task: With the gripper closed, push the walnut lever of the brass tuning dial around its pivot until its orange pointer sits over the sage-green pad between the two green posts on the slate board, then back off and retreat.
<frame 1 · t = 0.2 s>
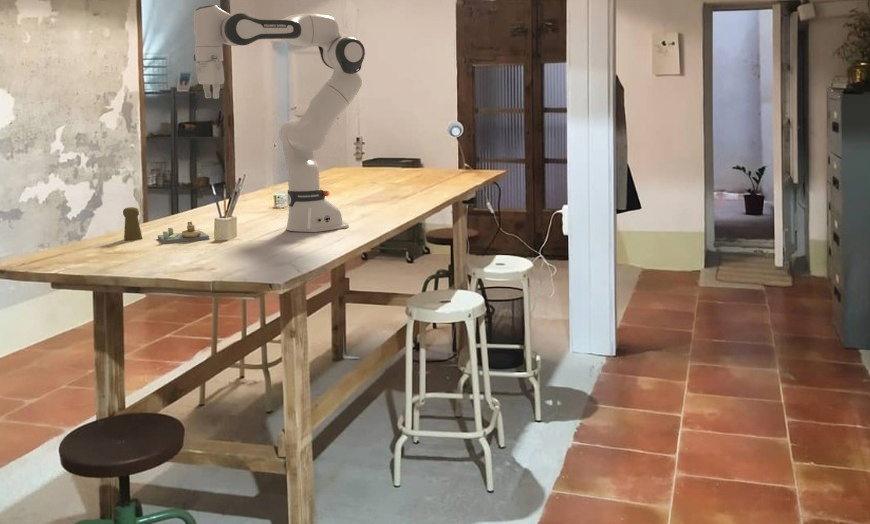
hand: (212, 98, 298), 47 cm above the table, fingers open, 8 cm apart
board: (183, 239, 306), on the table
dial: (190, 229, 305), point 3 cm above the table, hinge at -100.0°
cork: (133, 239, 307), on the table
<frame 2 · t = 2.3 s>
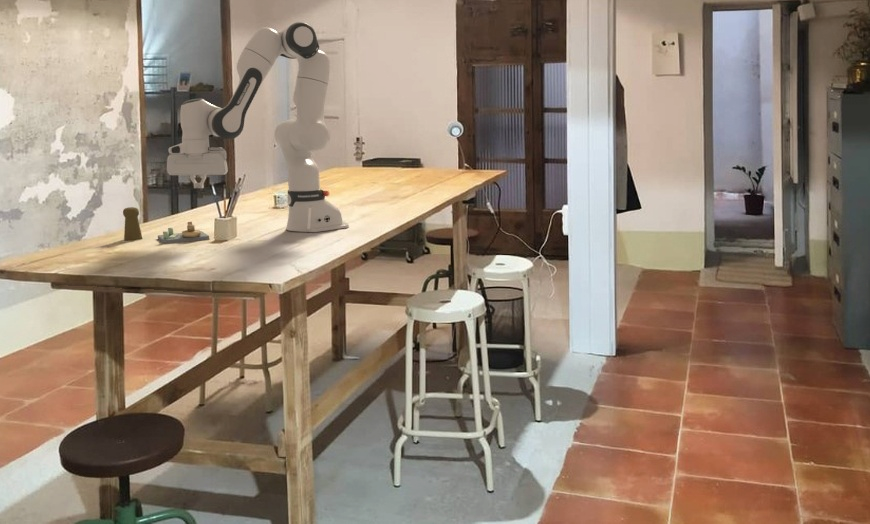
hand: (198, 188, 304), 17 cm above the table, fingers closed
nothing on the table moved.
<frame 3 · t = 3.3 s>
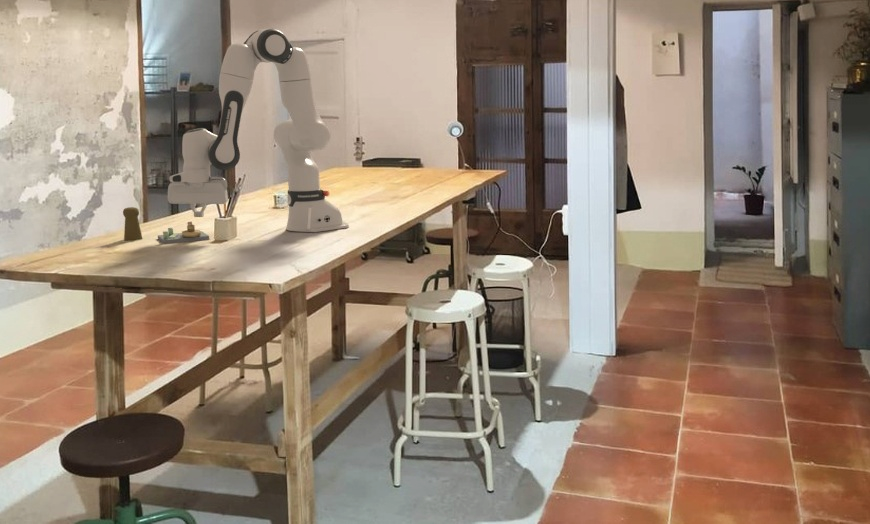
hand: (198, 216, 306), 7 cm above the table, fingers closed
nothing on the table moved.
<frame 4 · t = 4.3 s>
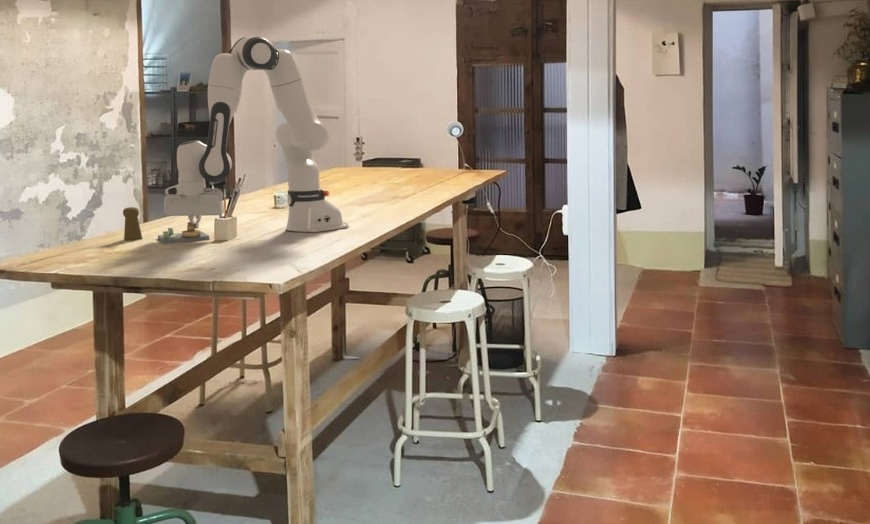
hand: (195, 228, 307), 3 cm above the table, fingers closed, pressing on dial
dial: (190, 229, 305), point 3 cm above the table, hinge at -100.0°, touching gripper
everything else where it was.
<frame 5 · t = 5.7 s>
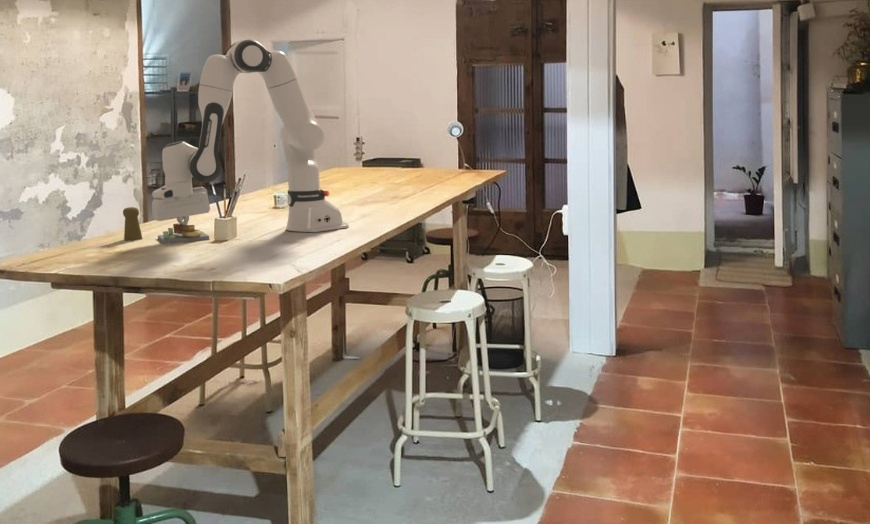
hand: (184, 229, 306), 3 cm above the table, fingers closed, pressing on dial
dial: (186, 229, 304), point 3 cm above the table, hinge at -54.1°, touching gripper
everything else where it was.
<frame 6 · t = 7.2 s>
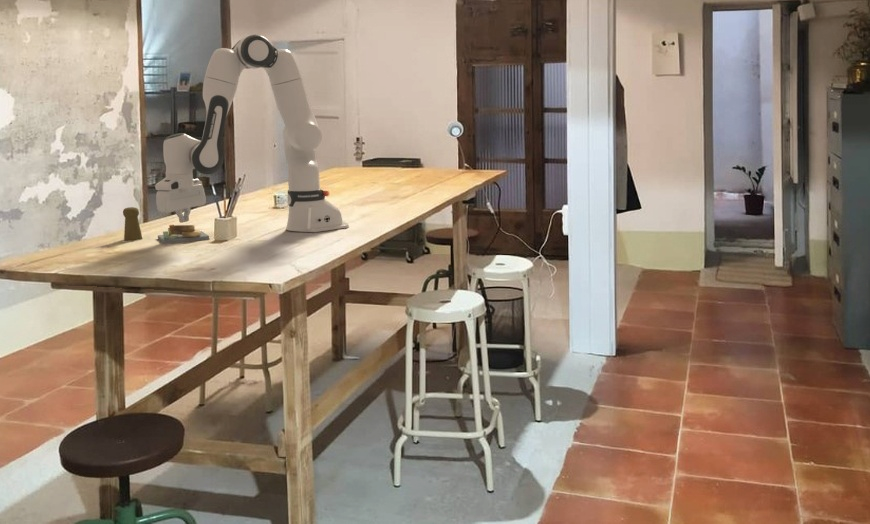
hand: (184, 221, 306), 6 cm above the table, fingers closed
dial: (185, 230, 303), point 3 cm above the table, hinge at -29.7°
everything else where it was.
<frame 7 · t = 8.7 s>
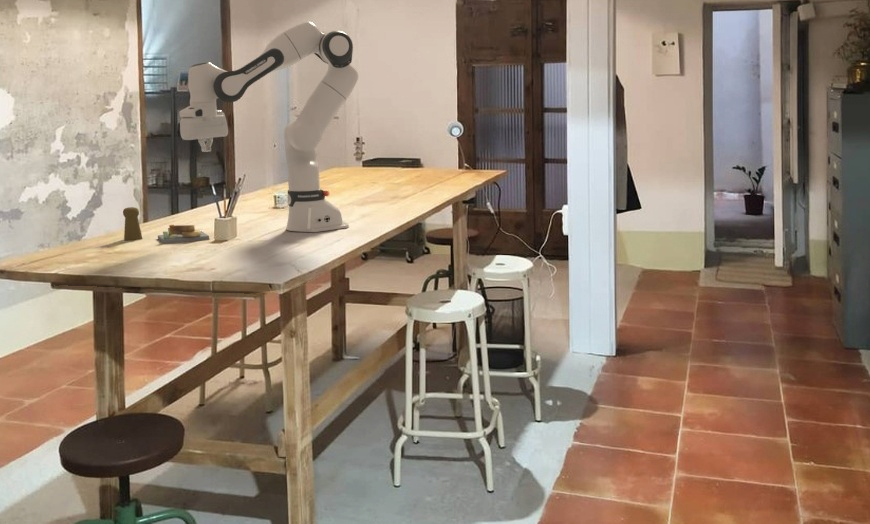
hand: (206, 151, 308), 29 cm above the table, fingers closed
nothing on the table moved.
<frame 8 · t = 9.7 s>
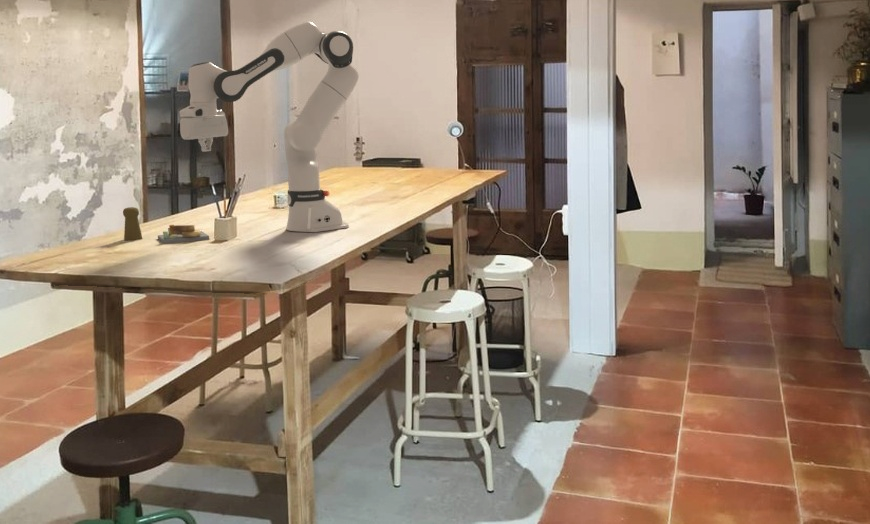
hand: (206, 151, 308), 29 cm above the table, fingers closed
nothing on the table moved.
at the end: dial at -30° (first picture: -100°); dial touching nothing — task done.
